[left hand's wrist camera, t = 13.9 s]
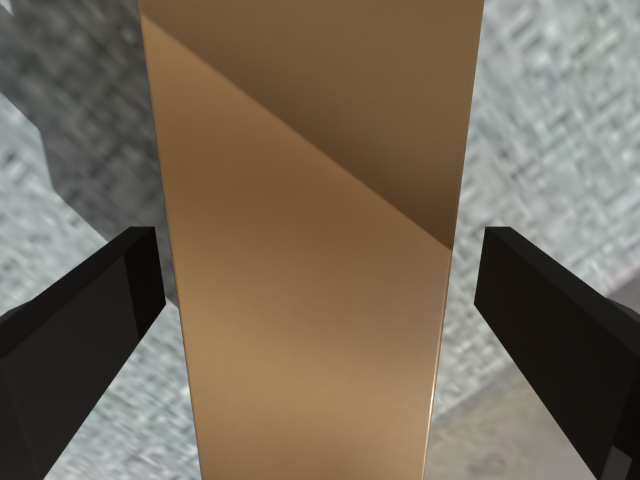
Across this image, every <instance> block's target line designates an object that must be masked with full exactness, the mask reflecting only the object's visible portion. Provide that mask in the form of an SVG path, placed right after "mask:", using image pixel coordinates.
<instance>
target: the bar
mask: <svg viewBox="0 0 640 480" xmlns="http://www.w3.org/2000/svg"><path fill="white" fill-rule="evenodd" d="M137 1H138V9H139V16H140V24H141V31H142V39H143V46H144V54H145V61H146V68H147V76H148V83H149V91H150V98H151V106H152V113H153V121H154V128H155V135H156V143H157V150H158V158H159V165H160V173H161V180H162V188H163V195H164V202H165V210H166V217H167V225H168V232H169V240H170V247H171V255H172V262H173V269H174V277H175V284H176V292H177V299H178V307H179V314H180V322H181V329H182V337H183V344H184V351H185V359H186V366H187V374H188V381H189V389H190V396H191V404H192V411H193V418H194V426H195V433H196V441H197V448H198V456H199V463H200V471H201V478H202V480H424V474H425V466H426V458H427V450H428V442H429V435H430V427H431V419H432V411H433V403H434V395H435V387H436V379H437V371H438V363H439V355H440V347H441V340H442V332H443V324H444V316H445V308H446V300H447V292H448V284H449V276H450V268H451V260H452V252H453V245H454V237H455V229H456V221H457V213H458V205H459V197H460V189H461V181H462V173H463V165H464V157H465V150H466V142H467V134H468V126H469V118H470V110H471V102H472V94H473V86H474V78H475V70H476V63H477V55H478V47H479V39H480V31H481V23H482V15H483V7H484V0H137Z"/></svg>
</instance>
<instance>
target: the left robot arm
mask: <svg viewBox="0 0 640 480" xmlns="http://www.w3.org/2000/svg"><path fill="white" fill-rule="evenodd" d="M165 305H166V300H165V293H164V287H163V280H162V273H161V267H160V260H159V253H158V247H157V240H156V233H155V227H129V228H128V229H126V230H125V231H124V232H122V233H121V234H120V235H118V236H117V237H116V238H114V239H113V240H112V241H110V242H109V243H108V244H106V245H105V246H103V247H102V248H101V249H99V250H98V251H97V252H95V253H94V254H93V255H91V256H90V257H89V258H87V259H86V260H85V261H83V262H82V263H81V264H79V265H78V266H77V267H75V268H74V269H73V270H71V271H70V272H69V273H67V274H66V275H65V276H63V277H62V278H61V279H59V280H58V281H57V282H55V283H54V284H53V285H51V286H50V287H49V288H47V289H46V290H45V291H43V292H42V293H41V294H39V295H38V296H37V297H35V298H34V299H33V300H31V301H29V302H26V303H24V304H22V305H20V306H18V307H16V308H14V309H11V310H9V311H8V312H6V313H5V314H3V315H2V316H1V317H0V480H43V479H44V478H45V476H46V475H47V474H48V472H49V471H50V469H51V468H52V466H53V465H54V464H55V462H56V461H57V459H58V458H59V456H60V455H61V454H62V452H63V451H64V449H65V448H66V446H67V445H68V444H69V442H70V441H71V439H72V438H73V436H74V435H75V434H76V432H77V431H78V429H79V428H80V426H81V425H82V424H83V422H84V421H85V419H86V418H87V416H88V415H89V414H90V412H91V411H92V409H93V408H94V406H95V405H96V404H97V402H98V401H99V399H100V398H101V396H102V395H103V394H104V392H105V391H106V389H107V388H108V386H109V385H110V384H111V382H112V381H113V379H114V378H115V376H116V375H117V374H118V372H119V371H120V369H121V368H122V366H123V365H124V364H125V362H126V361H127V359H128V358H129V357H130V355H131V354H132V352H133V351H134V349H135V348H136V347H137V345H138V344H139V342H140V341H141V339H142V338H143V337H144V335H145V334H146V332H147V331H148V329H149V328H150V327H151V325H152V324H153V322H154V321H155V319H156V318H157V317H158V315H159V314H160V312H161V311H162V309H163V308H164V307H165ZM474 305H475V307H476V308H477V309H478V311H479V312H480V314H481V315H482V317H483V318H484V319H485V321H486V322H487V324H488V325H489V327H490V328H491V329H492V331H493V332H494V334H495V335H496V337H497V338H498V339H499V341H500V342H501V344H502V345H503V347H504V348H505V349H506V351H507V352H508V354H509V355H510V356H511V358H512V359H513V361H514V362H515V364H516V365H517V366H518V368H519V369H520V371H521V372H522V374H523V375H524V376H525V378H526V379H527V381H528V382H529V384H530V385H531V386H532V388H533V389H534V391H535V392H536V394H537V395H538V396H539V398H540V399H541V401H542V402H543V404H544V405H545V406H546V408H547V409H548V411H549V412H550V414H551V415H552V416H553V418H554V419H555V421H556V422H557V424H558V425H559V426H560V428H561V429H562V431H563V432H564V434H565V435H566V436H567V438H568V439H569V441H570V442H571V444H572V445H573V446H574V448H575V449H576V451H577V452H578V453H579V455H580V456H581V458H582V459H583V461H584V462H585V463H586V465H587V466H588V468H589V469H590V471H591V472H592V473H593V475H594V476H595V478H596V479H597V480H640V315H639V314H638V313H636V312H635V311H634V310H632V309H630V308H628V307H626V306H624V305H622V304H619V303H617V302H615V301H613V300H611V299H609V298H605V297H603V296H602V295H601V294H599V293H598V292H597V291H595V290H594V289H593V288H591V287H590V286H589V285H587V284H586V283H585V282H583V281H582V280H581V279H579V278H578V277H577V276H575V275H574V274H573V273H571V272H570V271H569V270H567V269H566V268H565V267H563V266H562V265H561V264H559V263H558V262H557V261H555V260H554V259H553V258H551V257H550V256H549V255H547V254H546V253H545V252H543V251H542V250H541V249H539V248H538V247H537V246H535V245H534V244H533V243H531V242H530V241H528V240H527V239H526V238H524V237H523V236H522V235H520V234H519V233H518V232H516V231H515V230H514V229H512V228H511V227H485V233H484V240H483V247H482V253H481V260H480V267H479V273H478V280H477V287H476V293H475V300H474Z"/></svg>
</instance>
